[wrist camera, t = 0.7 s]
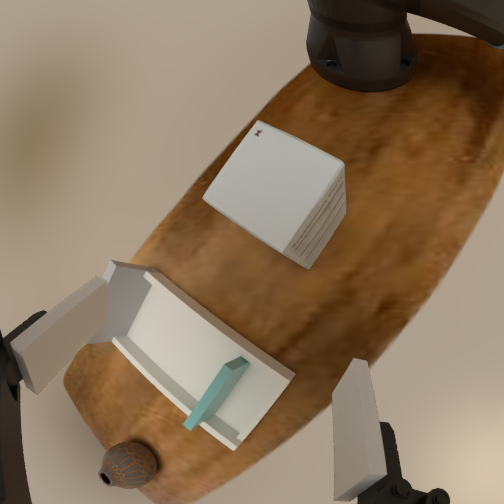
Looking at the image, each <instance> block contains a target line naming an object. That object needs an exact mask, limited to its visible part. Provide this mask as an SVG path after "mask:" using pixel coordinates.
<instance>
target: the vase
mask: <svg viewBox="0 0 504 504" xmlns="http://www.w3.org/2000/svg"><path fill="white" fill-rule="evenodd" d="M156 469H157V463H156V459H155V457H154V455H153V453H152V452H151V451H150V450H149V449H148V448H147V447H145V446H143V445H142V444H139V443H136V442H122V443H119V444H117V445H115V446H113V447H111V448H110V449H109V450H108V451H107V452H106V454H105V455H104V457H103V461H102V466H101V469H100V471H99V477H100V479H101V481H102V482H103V483H104V484H106V485H107V486H117V487H121V488H126V489H133V488H138V487H141V486H143V485H145V484H147V483H148V482H149V481H150V480H151V479H152V478H153V477H154V475H155V473H156Z"/></svg>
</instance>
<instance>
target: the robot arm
mask: <svg viewBox="0 0 504 504" xmlns="http://www.w3.org/2000/svg"><path fill="white" fill-rule="evenodd" d="M307 1H308V4H309V7H310V11H311V17H310V23H309V29H308V35H307V40H306V46H307V52H308V55H309V59H310V62H311V64H312V66H313V67H314V69H315V70H316V71H317V72H318V73H319V74H320V75H321V76H323V77H324V78H325V79H327V80H329V81H330V82H332V83H334V84H337V85H339V86H342V87H345V88H349V89H353V90H359V91H384V90H389V89H393V88H396V87H398V86H400V85H402V84H404V83H405V82H407V81H408V80H409V79H410V78H411V77H412V75H413V73H414V71H415V68H416V62H417V48H416V45H415V42H414V38H413V35H412V32H411V29H410V26H409V24H408V21H407V13H411V14H415V15H418V16H421V17H424V18H428V19H431V20H434V21H437V22H440V23H442V24H445V25H448V26H451V27H453V28H456V29H458V30H461V31H463V32H466V33H468V34H470V35H473V36H475V37H477V38H479V39H482V40H484V41H485V42H486V43H487V44H488V45H490V46H492V47H494V48H498V49H502V50H504V0H307ZM107 322H108V313H107V280H104V279H102V278H99V277H97V276H96V277H95V278H93V279H92V280H90V281H89V282H87V283H86V284H85V285H83V286H82V287H80V288H79V289H78V290H76V291H75V292H74V293H72V294H71V295H70V296H68V297H67V298H66V299H64V300H63V301H62V302H60V303H59V304H58V305H56V306H55V307H54V308H53V309H51V310H50V311H49V312H46V311H44V310H43V311H40V312H37V313H35V314H33V315H32V316H31V317H29V318H28V320H26V321H24V322H23V323H22V325H19V326H18V327H17V328H15V329H14V330H13V331H12V332H10V333H9V334H8V335H7V336H5V337H4V338H3V337H2V334H1V330H0V504H32V502H31V497H30V492H29V487H28V482H27V476H26V469H25V462H24V454H23V445H22V434H21V415H20V414H21V413H20V384H19V382H20V381H21V380H22V379H23V380H24V383H25V385H26V387H27V388H28V389H30V390H31V391H32V392H34V393H35V394H37V395H38V394H39V393H40V392H41V391H42V389H43V388H44V387H45V386H46V385H47V384H48V383H49V382H50V381H51V380H52V379H53V378H54V377H55V375H56V374H57V373H58V372H59V371H60V370H61V369H62V368H63V367H64V366H65V365H66V364H67V363H68V362H69V361H70V360H71V359H72V358H73V356H74V355H75V354H76V353H77V352H78V351H79V350H80V349H81V348H82V347H83V346H84V345H85V344H86V343H87V342H88V341H89V340H90V339H91V338H92V337H93V336H94V335H95V334H96V333H97V332H98V331H99V330H100V329H101V328H102V327H103V326H104V325H105V324H106V323H107ZM332 407H333V433H334V501H351V500H353V499H354V498H356V497H357V496H358V503H357V504H450V498H449V495H448V493H447V492H446V491H444V490H443V489H440V488H436V489H433V490H431V491H430V492H429V493H425V492H422V491H418V490H414V489H412V487H411V485H410V483H409V482H408V481H407V480H405V479H403V478H402V474H401V467H400V461H399V455H398V451H397V444H396V443H395V442H396V439H395V434H394V431H393V429H392V428H391V426H390V424H389V423H387V422H379V418H378V412H377V407H376V401H375V396H374V392H373V387H372V382H371V377H370V373H369V368H368V364H367V361H365V360H361V359H356V358H353V360H352V362H351V363H350V365H349V367H348V368H347V370H346V372H345V373H344V375H343V377H342V378H341V380H340V382H339V383H338V385H337V386H336V388H335V390H334V391H333V393H332Z"/></svg>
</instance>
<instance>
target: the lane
mask: <svg viewBox="0 0 504 504" xmlns="http://www.w3.org/2000/svg"><path fill="white" fill-rule="evenodd" d="M102 279H104V280H107V313H108V322H107V323H106V324H105V325H104V326H103V327H102V328H101V329H100V330H99V331H98V332H97V333H96V334H95V335H94V336H93V337H92V338H91V339H90V340H89V341H88V342H87V343H86V344H91V343H101V342H110V341H112V342H113V343H114V344H115V346H116V347H117V348H118V349H119V350H120V351H121V352H122V353H123V354H124V355H125V356H126V357H127V358H128V360H129V361H130V362H131V363H132V364H133V365H134V366H135V367H136V368H137V369H138V370H139V371H140V372H141V373H142V374H143V375H144V376H145V377H146V378H147V379H148V380H149V381H150V382H151V383H152V384H153V385H155V386H156V387H157V388H158V389H159V390H160V391H161V392H162V393H163V394H164V395H165V396H166V397H167V398H169V399H170V400H171V401H172V402H173V403H174V404H175V405H176V406H178V407H179V408H180V409H181V410H182V411H183V412H184V413H186V414H187V415H188V416H189V415H190V414H191V412H192V411H193V409H194V408H195V406H196V405H197V403H198V402H199V400H200V399H201V398H202V396H203V395H204V393H205V392H206V390H207V389H208V387H209V386H210V384H211V383H212V381H213V380H214V378H215V377H216V375H217V374H218V372H219V371H220V369H221V368H222V366H223V365H224V364H225V363H227V362H229V361H231V360H234V359H236V358H238V357H240V356H241V357H243V358H244V359H245V360H247V361H248V362H250V365H249V366H248V368H247V369H246V371H245V372H244V373H243V375H242V376H241V378H240V379H239V381H238V382H237V383H236V385H235V386H234V388H233V389H232V390H231V392H230V393H229V395H228V396H227V397H226V399H225V400H224V402H223V403H222V404H221V406H220V407H219V408H218V410H217V411H216V412H215V414H214V415H212V416H211V417H209V418H208V419H207V420H205V421H204V422H202V423H201V424H200V426H201V427H203V428H204V429H205V430H206V431H208V432H209V433H210V434H211V435H213V436H214V437H215V438H217V439H218V440H219V441H221V442H222V443H223V444H225V445H226V446H227V447H229V448H230V449H232V450H233V451H234V450H235V449H236V448H237V447H238V446H239V445H240V444H241V443H242V441H243V440H244V439H245V438H246V437H247V436H248V434H249V433H250V432H251V431H252V430H253V428H254V427H255V426H256V425H257V424H258V422H259V421H260V420H261V419H262V418H263V416H264V415H265V414H266V413H267V411H268V410H269V409H270V408H271V406H272V405H273V404H274V402H275V401H276V400H277V399H278V397H279V396H280V395H281V393H282V392H283V391H284V389H285V388H286V387H287V385H288V384H289V383H290V381H291V380H292V379H293V377H294V376H295V375H296V373H294V372H293V371H291V370H290V369H288V368H287V367H285V366H284V365H282V364H281V363H280V362H278V361H277V360H275V359H274V358H272V357H271V356H269V355H268V354H267V353H265V352H264V351H262V350H261V349H259V348H258V347H257V346H255V345H254V344H252V343H251V342H250V341H248V340H247V339H245V338H244V337H243V336H241V335H240V334H239V333H237V332H236V331H234V330H233V329H232V328H230V327H229V326H228V325H226V324H225V323H224V322H222V321H221V320H220V319H218V318H217V317H216V316H214V315H213V314H212V313H210V312H209V311H208V310H207V309H205V308H204V307H203V306H201V305H200V304H199V303H197V302H196V301H195V300H194V299H192V298H191V297H190V296H189V295H187V294H186V293H185V292H184V291H182V290H181V289H180V288H179V287H177V286H176V285H175V284H174V283H172V282H171V281H170V280H169V279H167V278H166V277H165V276H164V275H163V274H161V273H160V272H159V271H158V270H157V269H155V268H151V267H146V266H140V265H135V264H129V263H124V262H119V261H113V260H110V262H109V264H108V266H107V268H106V270H105V272H104V274H103V277H102Z"/></svg>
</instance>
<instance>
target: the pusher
mask: <svg viewBox="0 0 504 504" xmlns="http://www.w3.org/2000/svg"><path fill="white" fill-rule="evenodd" d="M249 365H250V362H248V361H247V360H245V359H244V358H243V357H241V356H240V357H238V358H236V359H234V360H231V361H229V362H227V363H225V364H224V365H223V366H222V368H221V369H220V371H219V372H218V374H217V375H216V377H215V378H214V380H213V381H212V383H211V384H210V386H209V387H208V389H207V390H206V392H205V393H204V395H203V396H202V398H201V399H200V400H199V402H198V403H197V405H196V406H195V408H194V409H193V411H192V412H191V414H190V415H189V416H188V418H187V419H186V421H185V422H184V424H183V425H184V426H185V427H186V428H187V429H189V430H190V431H191V430H193V429H194V428H195V427H197V426H198V425H200V424H201V423H202V422H204V421H205V420H207V419H208V418H209V417H211V416H212V415H214V414H215V412H216V411H217V410H218V408H219V407H220V406H221V404H222V403H223V402H224V400H225V399H226V397H227V396H228V395H229V393H230V392H231V390H232V389H233V388H234V386H235V385H236V383H237V382H238V381H239V379H240V378H241V376H242V375H243V373H244V372H245V371H246V369H247V368H248V366H249Z"/></svg>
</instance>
